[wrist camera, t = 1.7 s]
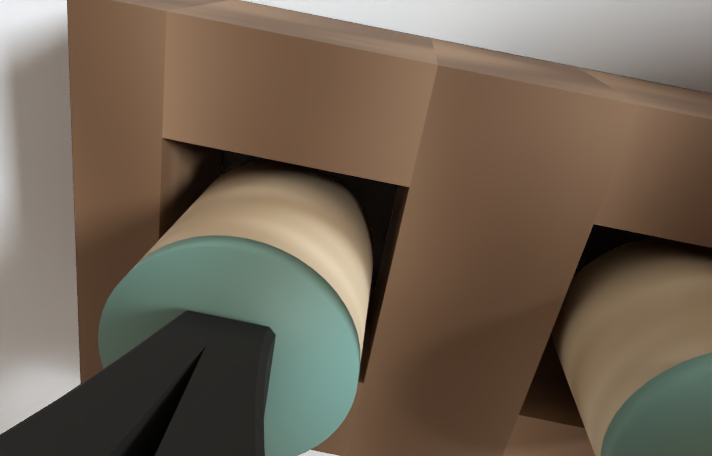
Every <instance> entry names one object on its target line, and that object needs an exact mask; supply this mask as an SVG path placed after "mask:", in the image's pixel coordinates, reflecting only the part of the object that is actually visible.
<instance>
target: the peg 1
mask: <svg viewBox="0 0 712 456" xmlns="http://www.w3.org/2000/svg"><path fill="white" fill-rule="evenodd" d="M374 257H375V245H374V238H373V233H372V229H371V226H370V223H369V221H368V218H367V216H366V214H365V212H364V210H363V209H362V207H361V206H360V204H359V202H358V201H357V200H356V199H355V197H354V196H353V195H352V194H351V193H350V191H348V190H347V189H346V188H345V187H344V186H343V185H342V184H341V183H340V182H338V181H337V180H335V179H334V178H333V177H331V176H330V175H328V174H326V173H324V172H323V171H321V170H319V169H316V168H311V167H306V166H301V165H296V164H291V163H286V162H281V161H276V160H271V159H266V160H258V161H253V162H249V163H245V164H242V165H240V166H237V167H235V168H233V169H231V170H229V171H227V172H226V173H224V174H222V175H221V176H220V177H219V178H218V179H216V180H215V181H214V182H213V183H212V184H211V185H210V186H209V187H208V188H207V189H206V190H205V191H204V192H203V194H202V195H201V196H200V197H199V198H198V199H197V200H196V201H195V202H194V203H193V204H192V205H191V206H190V207H189V209H188V210H187V211H186V212H185V213H184V214H183V215H182V216H181V217H180V218H179V219H178V220H177V221H176V222H175V224H174V225H173V226H172V227H171V228H170V229H169V230H168V231H167V232H166V233H165V234H164V235H163V236H162V237H161V239H160V240H159V241H158V242H157V243H156V244H155V245H154V246H153V247H152V248H151V249H150V250H149V251H148V252H147V254H146V255H145V256H144V257H143V258H142V259H141V260H140V261H139V262H138V263H137V264H136V265H135V266H134V267H133V269H132V270H131V271H130V272H129V273H128V274H127V275H126V276H125V277H124V278H123V279H122V280H121V282H120V283H119V284H118V285H117V286H116V287H115V288H114V290H113V292H112V293H111V295H110V296H109V298H108V299H107V302H106V304H105V306H104V309H103V311H102V315H101V319H100V323H99V333H98V344H99V354H100V358H101V362H102V366H103V369H104V368H105V367H107V366H108V365H110V364H111V363H113V362H114V361H116V360H117V359H119V358H120V357H121V356H123V355H124V354H126V353H127V352H128V351H130V350H131V349H133V348H134V347H136V346H137V345H138V344H140V343H141V342H143V341H144V340H145V339H147V338H148V337H149V336H151V335H152V334H154V333H155V332H156V331H158V330H159V329H161V328H162V327H163V326H165V325H166V324H168V323H169V322H170V321H172V320H173V319H175V318H176V317H178V316H179V315H181V314H182V313H184V312H185V311H187V310H189V311H194V312H199V313H204V314H209V315H214V316H219V317H224V318H229V319H234V320H239V321H244V322H249V323H254V324H259V325H263V326H268V327H270V328H271V329H272V331H273V332H274V333H275V335H276V338H275V345H274V352H273V359H272V366H271V373H270V380H269V387H268V394H267V401H266V408H265V415H264V448H265V456H297V455H300V454H302V453H305V452H307V451H308V450H310V449H312V448H314V447H316V446H318V445H319V444H320V443H322V442H323V441H324V440H326V439H327V438H328V437H329V436H330V435H331V434H332V433H333V432H334V431H335V430H336V429H338V427H339V426H340V425H341V423H342V422H343V421H344V419H345V418H346V416H347V414H348V412H349V410H350V409H351V407H352V404H353V401H354V398H355V395H356V391H357V384H358V377H359V370H360V362H361V355H362V347H363V340H364V332H365V325H366V317H367V310H368V302H369V295H370V287H371V280H372V272H373V265H374Z"/></svg>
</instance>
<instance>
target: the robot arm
mask: <svg viewBox="0 0 712 456" xmlns="http://www.w3.org/2000/svg"><path fill="white" fill-rule="evenodd" d="M275 338H276V335H275V333H274V332H273V331H272V329H271V328H270V327H268V326H263V325H259V324H254V323H249V322H244V321H239V320H234V319H229V318H224V317H219V316H214V315H209V314H204V313H199V312H194V311H189V310H187V311H185V312H184V313H182V314H181V315H179V316H178V317H176V318H175V319H173V320H172V321H170V322H169V323H168V324H166V325H165V326H163V327H162V328H161V329H159V330H158V331H156V332H155V333H154V334H152V335H151V336H149V337H148V338H147V339H145V340H144V341H143V342H141V343H140V344H138V345H137V346H136V347H134V348H133V349H131V350H130V351H128V352H127V353H126V354H124V355H123V356H121V357H120V358H119V359H117V360H116V361H114V362H113V363H111V364H110V365H108V366H107V367H105V368H104V369H102V370H101V371H99V372H98V373H97V374H95V375H94V376H92V377H91V378H89V379H88V380H86V381H85V382H83V383H82V384H80V385H79V386H77V387H76V388H74V389H73V390H71V391H70V392H68V393H67V394H65V395H64V396H62V397H61V398H59V399H58V400H56V401H54V402H53V403H51V404H50V405H48V406H46V407H45V408H43V409H41V410H40V411H38V412H37V413H35V414H33V415H32V416H30V417H28V418H27V419H25V420H24V421H22V422H20V423H19V424H17V425H15V426H14V427H12V428H10V429H9V430H7V431H6V432H4V433H2V434H1V435H0V456H265V448H264V415H265V408H266V401H267V394H268V387H269V380H270V373H271V366H272V359H273V352H274V345H275Z"/></svg>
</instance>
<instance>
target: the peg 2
mask: <svg viewBox="0 0 712 456" xmlns="http://www.w3.org/2000/svg"><path fill="white" fill-rule="evenodd" d="M552 337H553V343H554V346H555V349H556V352H557V354H558V357H559V360H560V362H561V365H562V368H563V371H564V373H565V376H566V379H567V381H568V384H569V387H570V389H571V392H572V395H573V397H574V400H575V403H576V405H577V408H578V411H579V413H580V416H581V419H582V421H583V424H584V427H585V429H586V432H587V435H588V437H589V440H590V443H591V445H592V448H593V451H594V454H595V456H712V248H710V247H705V246H700V245H695V244H690V243H685V242H680V241H675V240H670V239H665V238H654V239H645V240H640V241H635V242H631V243H628V244H625V245H622V246H619V247H617V248H614V249H612V250H610V251H607V252H606V253H604V254H602V255H600V256H599V257H597V258H595V259H594V260H592V261H591V262H590V263H588V264H587V265H586V266H584V267H583V268H582V269H581V270H580V271H579V272H578V273H577V274H576V275H575V276H574V277H573V278H572V280H571V283H570V286H569V288H568V291H567V293H566V296H565V298H564V301H563V303H562V306H561V308H560V311H559V314H558V316H557V319H556V321H555V324H554V326H553V329H552Z"/></svg>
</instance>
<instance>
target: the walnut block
mask: <svg viewBox="0 0 712 456" xmlns="http://www.w3.org/2000/svg"><path fill="white" fill-rule="evenodd" d="M67 14H68V42H69V70H70V98H71V127H72V155H73V183H74V211H75V239H76V267H77V295H78V323H79V351H80V379H81V384H82V383H83V382H85V381H86V380H88V379H89V378H91V377H92V376H94V375H95V374H97V373H98V372H99V371H101V370H102V369H103V366H102V362H101V358H100V354H99V344H98V333H99V323H100V319H101V315H102V311H103V309H104V306H105V304H106V302H107V299H108V298H109V296H110V295H111V293H112V292H113V290H114V288H115V287H116V286H117V285H118V284H119V283H120V282H121V280H122V279H123V278H124V277H125V276H126V275H127V274H128V273H129V272H130V271H131V270H132V269H133V267H134V266H135V265H136V264H137V263H138V262H139V261H140V260H141V259H142V258H143V257H144V256H145V255H146V254H147V252H148V251H149V250H150V249H151V248H152V247H153V246H154V245H155V244H156V243H157V242H158V241H159V240H160V239H161V237H162V236H163V235H164V234H165V233H166V232H167V231H168V230H169V229H170V228H171V227H172V226H173V225H174V224H175V222H176V221H177V220H178V219H179V218H180V217H181V216H182V215H183V214H184V213H185V212H186V211H187V210H188V209H189V207H190V206H191V205H192V204H193V203H194V202H195V201H196V200H197V199H198V198H199V197H200V196H201V195H202V194H203V192H204V191H205V190H206V189H207V188H208V187H209V186H210V185H211V184H212V183H213V182H214V181H215V180H216V179H218V178H219V177H220V173H221V161H222V150H226V151H231V152H236V153H241V154H246V155H251V156H256V157H261V158H266V159H271V160H276V161H281V162H286V163H291V164H296V165H301V166H306V167H311V168H316V169H321V170H326V171H331V172H336V173H341V174H346V175H351V176H356V177H361V178H366V179H371V180H376V181H381V182H386V183H391V184H396V185H398V189H397V193H396V198H395V202H394V206H393V211H392V215H391V220H390V224H389V229H388V233H387V238H386V242H385V247H384V251H383V256H382V260H381V264H380V269H379V273H378V278H377V282H376V287H375V289H372V288H370V295H369V302H368V310H367V317H366V325H365V332H364V340H363V347H362V355H361V362H360V370H359V377H358V384H357V391H356V395H355V398H354V401H353V404H352V407H351V409H350V410H349V412H348V414H347V416H346V418H345V419H344V421H343V422H342V423H341V425H340V426H339V427H338V429H336V430H335V431H334V432H333V433H332V434H331V435H330V436H329V437H328V438H327V439H326V440H324V441H323V442H322V443H320V444H319V445H318V446H316V447H314V448H312V449H310V450H315V451H320V452H325V453H330V454H335V455H340V456H595V454H594V451H593V448H592V445H591V443H590V440H589V437H588V435H587V432H586V429H585V427H584V424H583V421H582V419H581V416H580V413H579V411H578V408H577V405H576V403H575V400H574V397H573V395H572V392H571V389H570V387H569V384H568V381H567V379H566V376H565V373H564V371H563V368H562V365H561V362H560V360H559V357H558V354H557V352H556V349H555V346H554V343H553V337H552V329H553V326H554V324H555V321H556V319H557V316H558V314H559V311H560V308H561V306H562V303H563V301H564V298H565V296H566V293H567V291H568V288H569V286H570V283H571V280H572V278H573V275H574V273H575V270H576V268H577V265H578V263H579V260H580V258H581V255H582V252H583V250H584V247H585V245H586V242H587V240H588V237H589V235H590V232H591V230H592V227H593V224H595V225H600V226H605V227H610V228H615V229H620V230H625V231H630V232H635V233H640V234H645V235H650V236H655V237H660V238H665V239H670V240H675V241H680V242H685V243H690V244H695V245H700V246H705V247H710V248H712V94H711V93H706V92H700V91H695V90H690V89H685V88H680V87H675V86H670V85H665V84H660V83H655V82H650V81H645V80H640V79H635V78H630V77H625V76H620V75H615V74H610V73H605V72H599V71H594V70H589V69H584V68H579V67H574V66H569V65H564V64H559V63H554V62H549V61H544V60H539V59H534V58H529V57H524V56H519V55H514V54H509V53H504V52H499V51H493V50H488V49H483V48H478V47H473V46H468V45H463V44H458V43H453V42H448V41H443V40H438V39H433V38H428V37H423V36H418V35H413V34H408V33H403V32H398V31H393V30H387V29H382V28H377V27H372V26H367V25H362V24H357V23H352V22H347V21H342V20H337V19H332V18H327V17H322V16H317V15H312V14H307V13H302V12H297V11H292V10H286V9H281V8H276V7H271V6H266V5H261V4H256V3H251V2H246V1H241V0H67Z"/></svg>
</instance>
